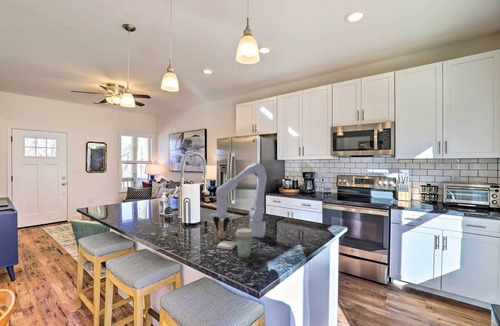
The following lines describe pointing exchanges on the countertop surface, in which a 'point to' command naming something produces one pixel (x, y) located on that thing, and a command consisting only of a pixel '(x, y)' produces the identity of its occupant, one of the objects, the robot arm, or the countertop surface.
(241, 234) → the coffee cup
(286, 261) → the countertop surface
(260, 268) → the countertop surface
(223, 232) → the stick
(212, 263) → the countertop surface
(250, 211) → the robot arm
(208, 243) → the countertop surface
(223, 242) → the tile
